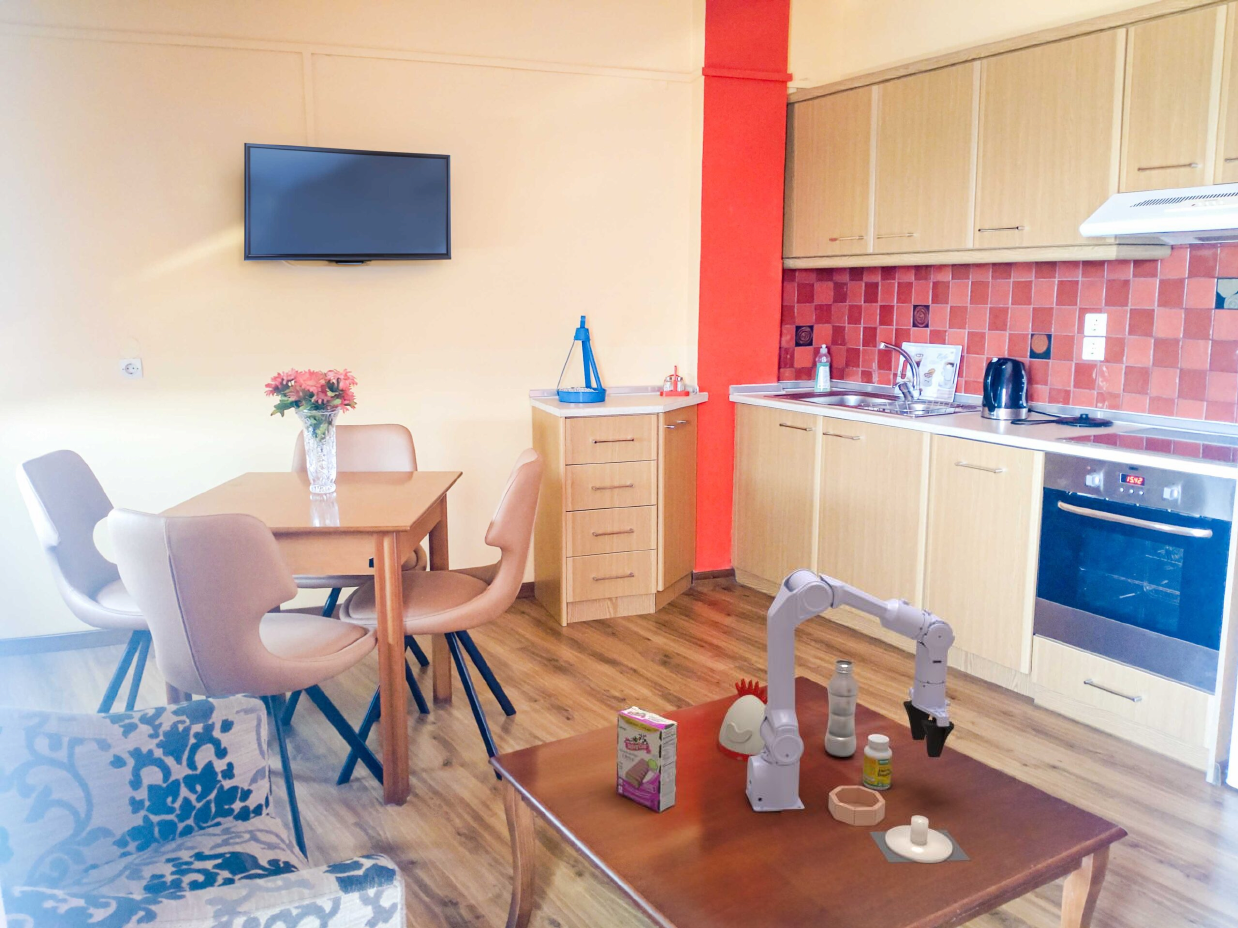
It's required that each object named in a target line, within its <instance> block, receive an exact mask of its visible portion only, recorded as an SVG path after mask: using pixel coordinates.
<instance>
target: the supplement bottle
mask: <svg viewBox="0 0 1238 928" xmlns="http://www.w3.org/2000/svg"><path fill="white" fill-rule="evenodd" d="M867 744H868V745H866V746H865V747H864V749H863V767H862V768H863V769H862V783H863V785H864V787H865V788H868V789H871V790H874V791H885V790H887V789H890V787H891V783H892V769H893V768H892V767H893V766H892V765H893V752H892V749H891V748H890V747H889V746H890V738H889V737H888V736H886V735H884V734H880V733H878V734H876V733H872V734H870V735H868V737H867Z"/></svg>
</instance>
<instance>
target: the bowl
mask: <svg viewBox="0 0 1238 928" xmlns="http://www.w3.org/2000/svg"><path fill="white" fill-rule="evenodd" d="M828 811H829V812H830V814H831V815H832V817H833V818H834V819H835V820H837V821H840V822H843V823H845V824H848V825H850V826H854V827H858V826H859V827H860V826H862V827H863V826H864V827H865V826H876V825H877V824H878V823H880V822H882V820H883V819H885V817H886V816H885V815H886V814H885V812H886V800H885V799H884V798H883V796H882V795H881V794H880V793H879V791H878V790H874V789H871V788H868V787H866V786H863V785H862V786H861V785H838V786H837V787H835V788H834V789H833V790H831V791H830V792H829V793H828Z"/></svg>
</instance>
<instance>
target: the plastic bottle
mask: <svg viewBox="0 0 1238 928" xmlns="http://www.w3.org/2000/svg"><path fill="white" fill-rule="evenodd" d="M834 672H835V673H834V674H833V676H831V678H830V679H829V680H828V683H827V689H826V690H827V696H828V697H827V698H828V719H827V720H828V721H827V727H826V729H827V730H826V733H825V738H824V746H825V750H826V752H827V753H828V754H830V755H831V756H834V757H839V758H846V757H850V756H851V757H852V755H853V754H854V753H855V751H856V747H857V737H856V730H855V729H856V728H855V716H856V715H855V713H856V707H857V702H858V701H857V700H858V694H859V690H860V689H859V683H858V682H857V680H856V679H855V677H854V675H853V673H854V663H853V661H852V660H848V659H838V660H835V662H834Z"/></svg>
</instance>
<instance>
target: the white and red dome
mask: <svg viewBox="0 0 1238 928" xmlns="http://www.w3.org/2000/svg"><path fill="white" fill-rule="evenodd" d="M753 685H754V686H753ZM734 686H735V688H736V689H735V690H736V692H737V694H738V696H739V698H738V699H737V700H735V701H734V702H733V704H731V706H730V707H729V708H728V709H727V712H726V714H725V716H724V719H723V721H722V724H721V728H720V730H719V734H718V749H719V750H720V752H721V753H722V754H724V755H725V756H727V757H728V758H731V759H734V760H737V761H742V762H747V763H748V759H749V757H751V756H756V755H759V754H761V751H762V748H763V746H764V744H765V742H764V740H763V739H762V737H761V735H760V732H759V728H760V724H761V722H762V720H763V718H764V709H765V707H766V706H767V705H768V696H766V698H765V697H764V694H765V692H766V687H763V688H761V690H760V682H759V680H757V681H755V683H754V684H753V679H752V678H751V679H750V680H748V684H746V680H745V678H744V677H743V678H741V680H740V684H739V682H738V681H736V682H735V683H734Z"/></svg>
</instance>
